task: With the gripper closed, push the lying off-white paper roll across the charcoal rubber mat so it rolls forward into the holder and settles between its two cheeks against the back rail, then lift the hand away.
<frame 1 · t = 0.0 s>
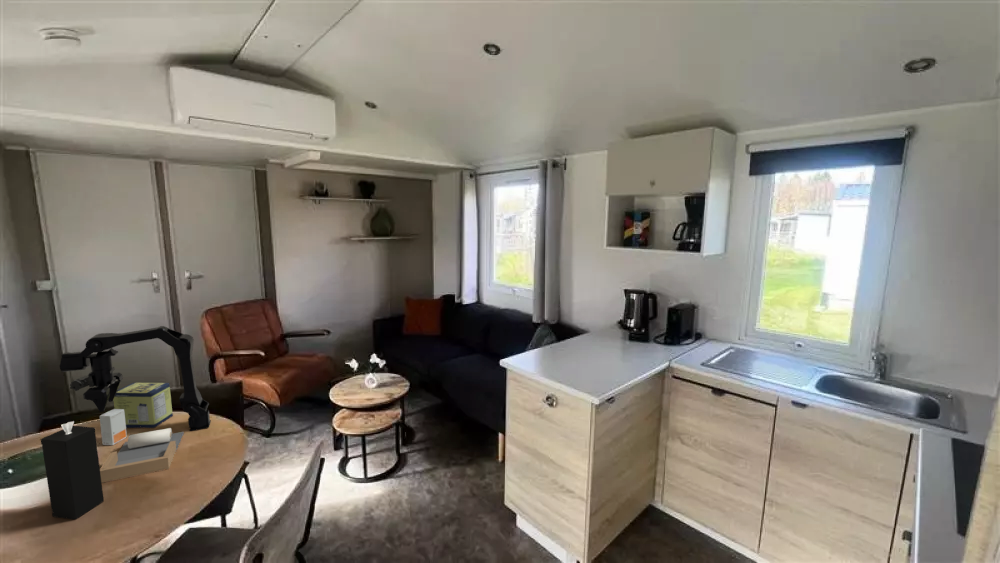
hand: (106, 406, 155), 15 cm above the table, fingers open, 9 cm apart
holder: (140, 466, 143), on the table
paper roll: (150, 438, 155), point 3 cm above the table, touching holder
tissue box: (79, 509, 122), on the table
protein box: (145, 422, 172), on the table
skincare box: (115, 441, 158), on the table
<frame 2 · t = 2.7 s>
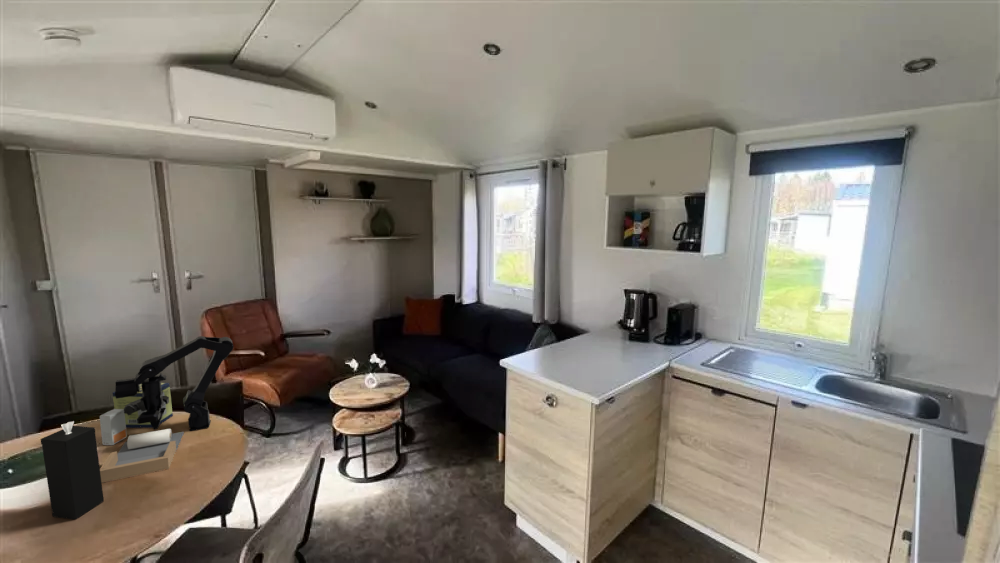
hand: (155, 429, 161), 3 cm above the table, fingers closed
paper roll: (150, 438, 154), point 3 cm above the table, tilted 10°, touching holder
everything else where it was.
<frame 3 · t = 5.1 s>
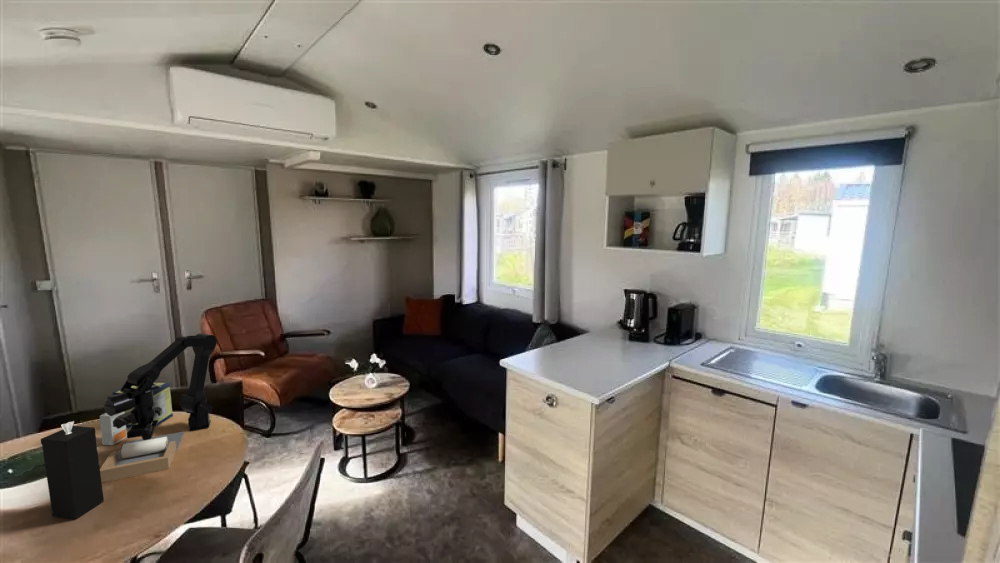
hand: (147, 442, 151), 3 cm above the table, fingers closed
paper roll: (145, 447, 149), point 3 cm above the table, tilted 158°, touching holder
everything else where it was.
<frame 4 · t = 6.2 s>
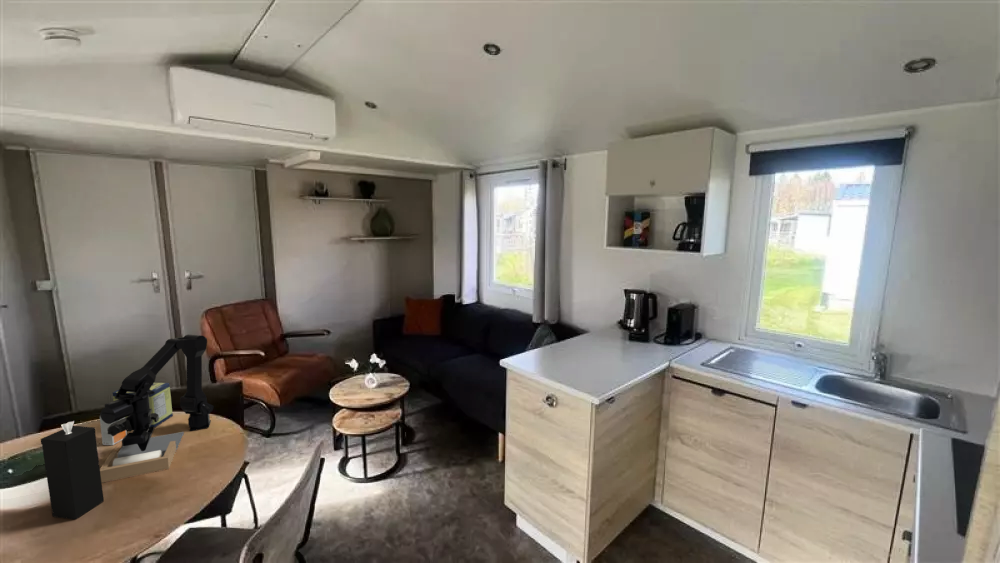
hand: (143, 450, 147), 3 cm above the table, fingers closed
paper roll: (137, 461, 141), point 3 cm above the table, tilted 14°, touching holder
everything else where it was.
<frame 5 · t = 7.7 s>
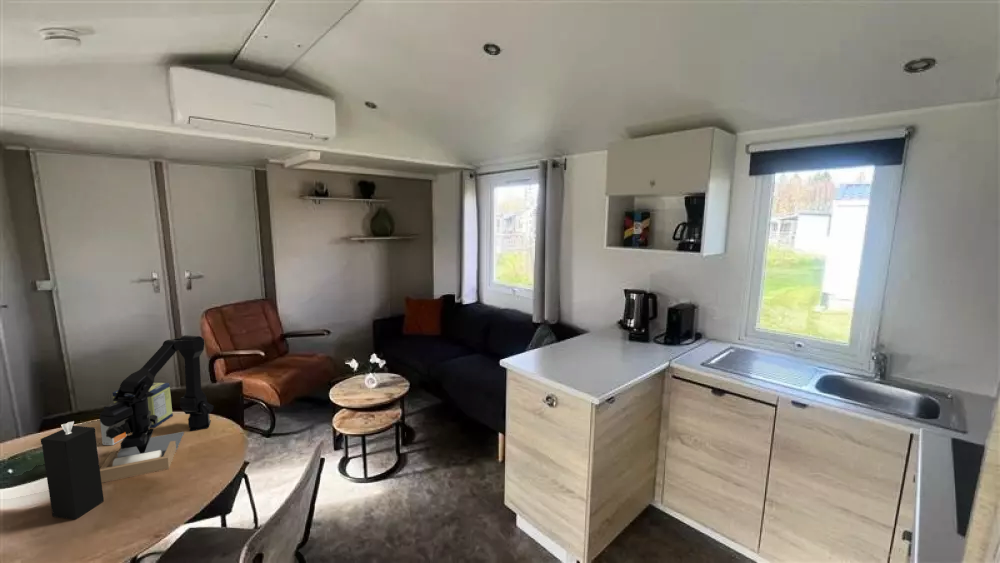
hand: (142, 452, 145), 3 cm above the table, fingers closed
nothing on the table moved.
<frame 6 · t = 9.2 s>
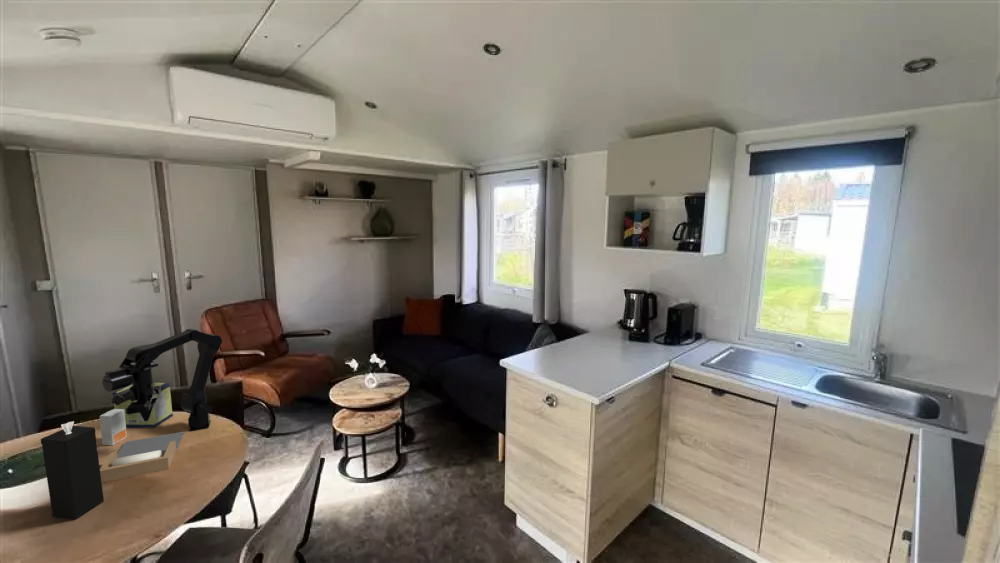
hand: (146, 420, 151), 12 cm above the table, fingers closed
nothing on the table moved.
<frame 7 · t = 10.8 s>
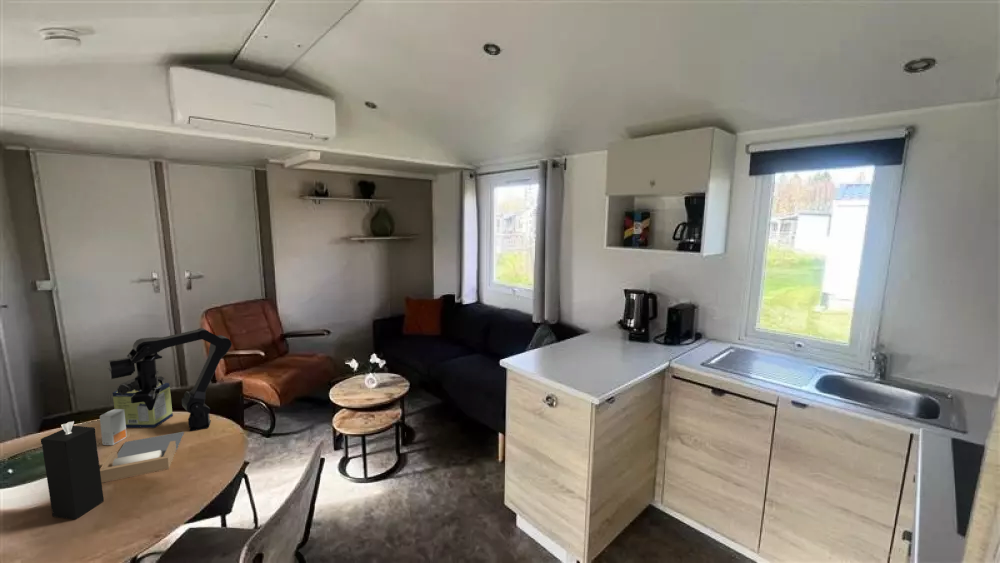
hand: (150, 409, 156), 13 cm above the table, fingers closed
nothing on the table moved.
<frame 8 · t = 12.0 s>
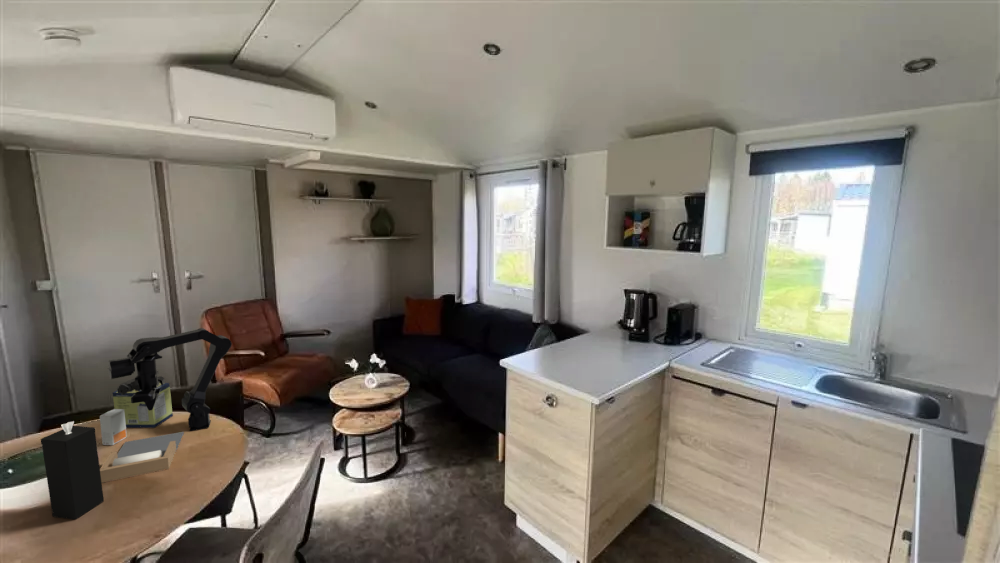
hand: (150, 409, 156), 13 cm above the table, fingers closed
nothing on the table moved.
at the end: paper roll inside the target area on the holder (1.1 cm from its centre), point 2.9 cm above the holder's base; paper roll moved 16.1 cm from its start; paper roll touching holder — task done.
